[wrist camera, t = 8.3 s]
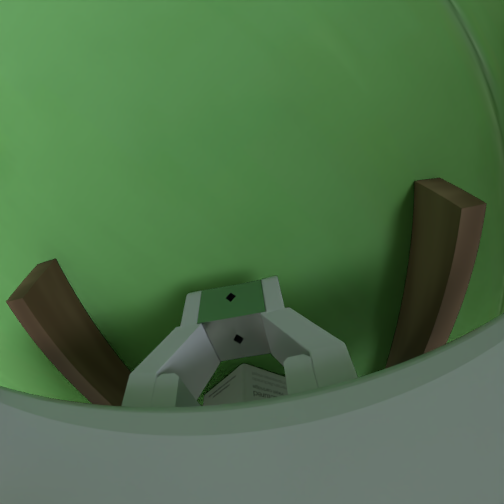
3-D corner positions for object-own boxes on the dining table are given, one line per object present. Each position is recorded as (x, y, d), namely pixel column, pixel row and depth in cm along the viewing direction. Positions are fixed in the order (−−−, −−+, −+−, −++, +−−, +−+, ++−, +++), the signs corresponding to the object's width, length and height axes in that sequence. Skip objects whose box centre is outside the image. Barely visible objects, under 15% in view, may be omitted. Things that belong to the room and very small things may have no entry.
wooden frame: (442, 177, 9) (569, 264, 3) (389, 399, 19) (413, 466, 12) (9, 273, 10) (-57, 364, 4) (148, 435, 20) (141, 499, 13)
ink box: (342, 390, 17) (381, 535, 6) (296, 419, 18) (317, 547, 8) (241, 359, 14) (255, 576, 4) (199, 395, 16) (196, 562, 5)
